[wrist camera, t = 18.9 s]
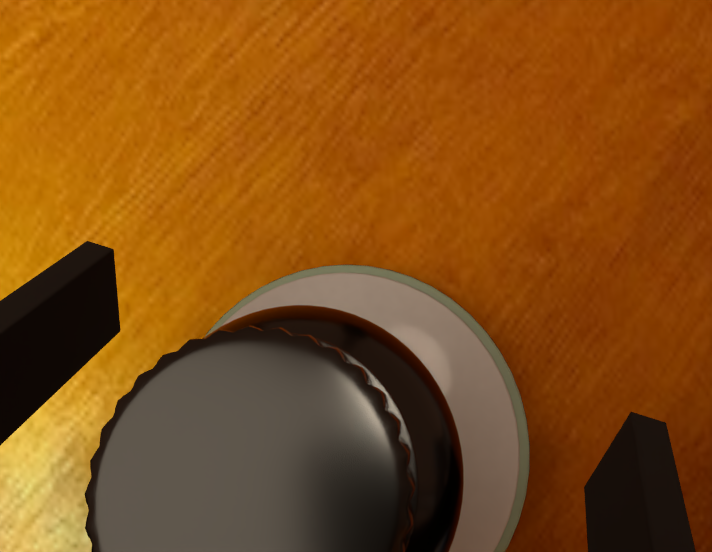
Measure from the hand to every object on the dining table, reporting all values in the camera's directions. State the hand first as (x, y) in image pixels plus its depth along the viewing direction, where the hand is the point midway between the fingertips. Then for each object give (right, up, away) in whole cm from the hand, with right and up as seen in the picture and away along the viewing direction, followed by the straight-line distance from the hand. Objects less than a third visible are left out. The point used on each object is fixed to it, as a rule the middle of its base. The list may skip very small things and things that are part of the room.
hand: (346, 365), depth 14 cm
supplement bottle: (0, -4, +5) cm, 6 cm away
